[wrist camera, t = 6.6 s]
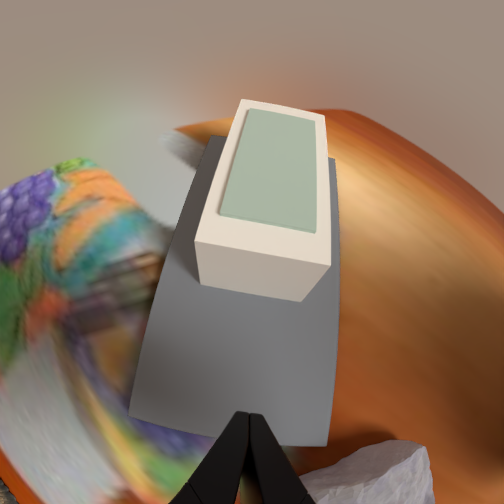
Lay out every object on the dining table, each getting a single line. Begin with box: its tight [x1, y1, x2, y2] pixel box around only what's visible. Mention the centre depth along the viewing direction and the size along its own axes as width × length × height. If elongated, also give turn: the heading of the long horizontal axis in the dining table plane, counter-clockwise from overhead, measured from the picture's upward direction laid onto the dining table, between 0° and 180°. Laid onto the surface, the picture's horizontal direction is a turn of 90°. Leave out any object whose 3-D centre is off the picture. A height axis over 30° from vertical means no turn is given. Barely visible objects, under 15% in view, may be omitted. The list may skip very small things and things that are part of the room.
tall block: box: [194, 99, 331, 302], centre depth 17 cm, size 5×6×12 cm
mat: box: [128, 135, 340, 446], centre depth 18 cm, size 22×11×1 cm, turn 172°
